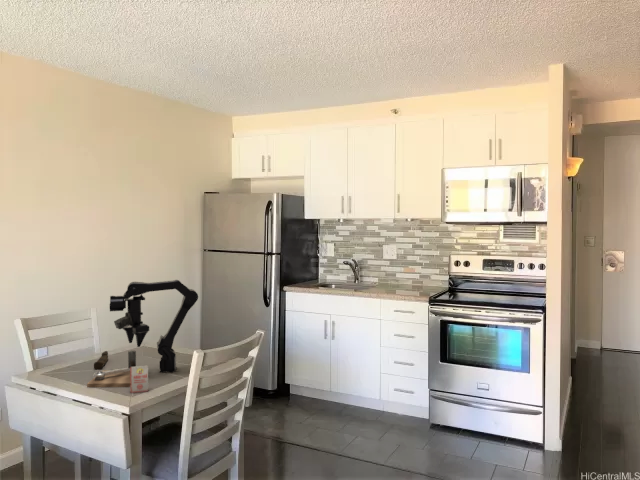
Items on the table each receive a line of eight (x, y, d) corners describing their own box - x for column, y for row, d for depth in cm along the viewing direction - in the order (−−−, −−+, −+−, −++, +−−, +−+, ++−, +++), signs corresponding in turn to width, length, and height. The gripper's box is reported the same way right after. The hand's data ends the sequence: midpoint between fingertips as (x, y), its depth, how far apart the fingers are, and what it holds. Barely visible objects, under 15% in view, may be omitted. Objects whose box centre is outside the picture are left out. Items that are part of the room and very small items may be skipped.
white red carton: (130, 390, 218) (130, 365, 217) (148, 388, 220) (148, 364, 219) (130, 392, 214) (130, 368, 214) (148, 391, 216) (148, 366, 216)
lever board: (148, 373, 241) (148, 367, 241) (136, 386, 222) (136, 380, 222) (103, 373, 240) (103, 367, 240) (87, 387, 221) (87, 380, 221)
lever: (96, 378, 224) (95, 358, 223) (92, 375, 227) (92, 356, 227) (138, 370, 235) (138, 351, 235) (134, 368, 239) (134, 349, 238)
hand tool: (102, 370, 246) (102, 360, 246) (93, 370, 246) (93, 360, 245) (112, 359, 265) (112, 350, 265) (104, 359, 264) (104, 350, 264)
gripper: (108, 309, 241) (108, 343, 242) (124, 315, 227) (124, 351, 228) (132, 306, 248) (133, 340, 249) (149, 312, 234) (150, 347, 235)
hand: (134, 344), depth 240 cm, fingers open, 9 cm apart
